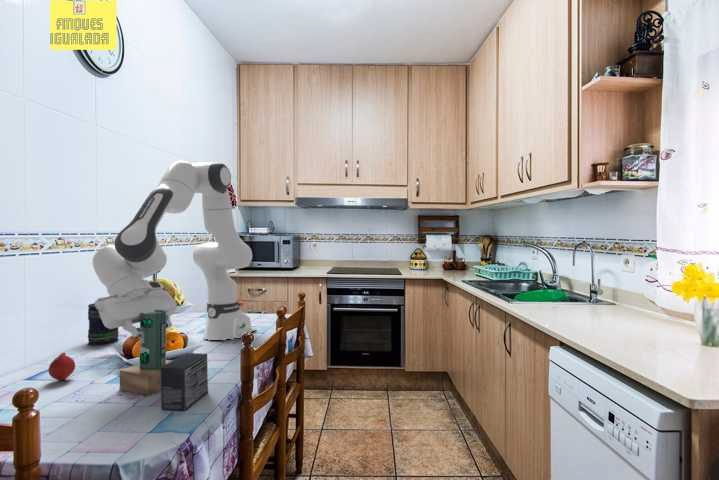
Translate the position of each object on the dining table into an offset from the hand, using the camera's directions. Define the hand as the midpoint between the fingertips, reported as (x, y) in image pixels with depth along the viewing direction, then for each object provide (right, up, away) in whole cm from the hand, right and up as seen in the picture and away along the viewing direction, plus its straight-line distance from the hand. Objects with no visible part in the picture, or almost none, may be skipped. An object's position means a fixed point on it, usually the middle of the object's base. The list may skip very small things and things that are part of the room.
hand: (154, 331), depth 100 cm
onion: (-28, -15, +3) cm, 32 cm away
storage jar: (-43, -15, +41) cm, 62 cm away
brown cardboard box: (-1, -15, 0) cm, 15 cm away
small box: (+13, -15, -10) cm, 23 cm away
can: (-1, -10, 0) cm, 10 cm away
